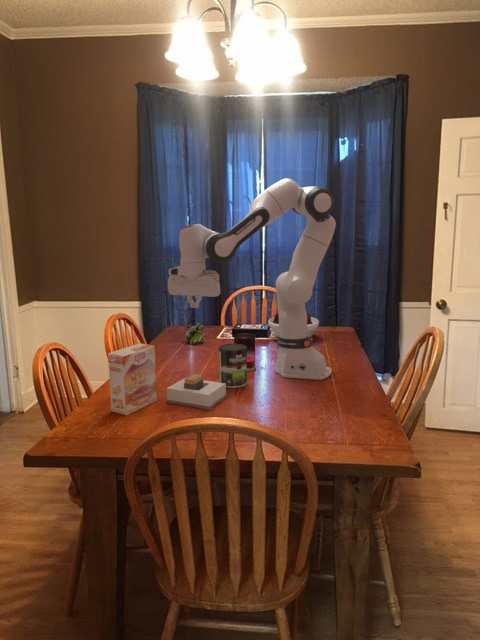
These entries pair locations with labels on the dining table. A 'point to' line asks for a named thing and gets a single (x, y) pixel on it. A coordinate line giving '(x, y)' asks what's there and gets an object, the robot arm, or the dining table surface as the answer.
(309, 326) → the white round bowl
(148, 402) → the coffeecake box
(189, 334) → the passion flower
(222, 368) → the coffee can
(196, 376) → the plug
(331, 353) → the dining table surface
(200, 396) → the socket
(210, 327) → the dining table surface
